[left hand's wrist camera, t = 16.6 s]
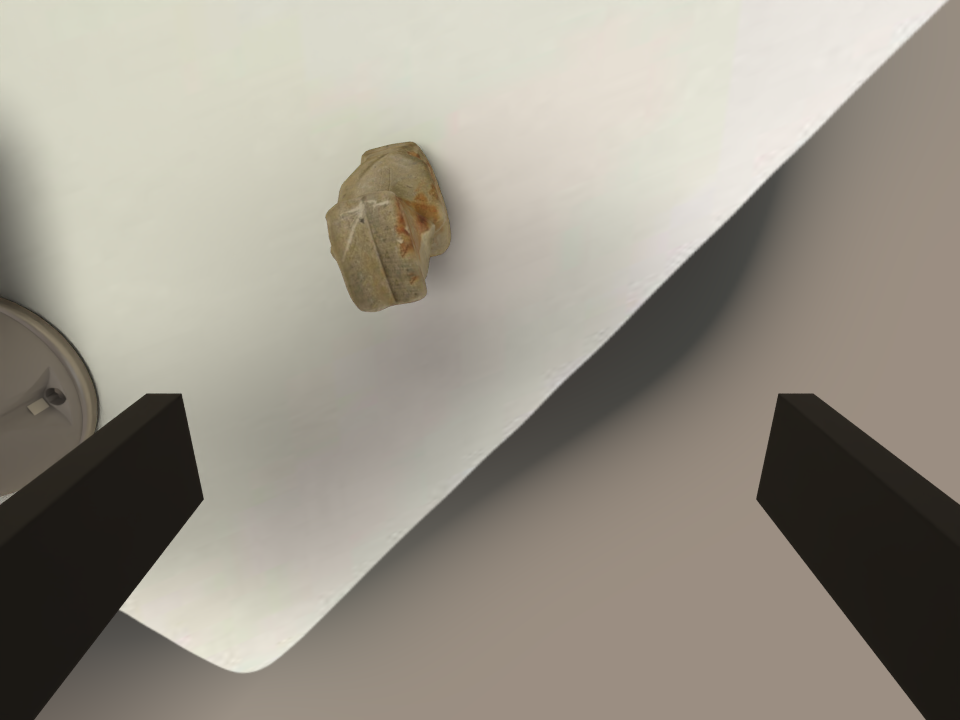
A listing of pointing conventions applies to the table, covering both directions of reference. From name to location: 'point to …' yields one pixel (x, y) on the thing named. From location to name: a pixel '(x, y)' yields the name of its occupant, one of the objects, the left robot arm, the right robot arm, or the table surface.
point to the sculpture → (388, 227)
